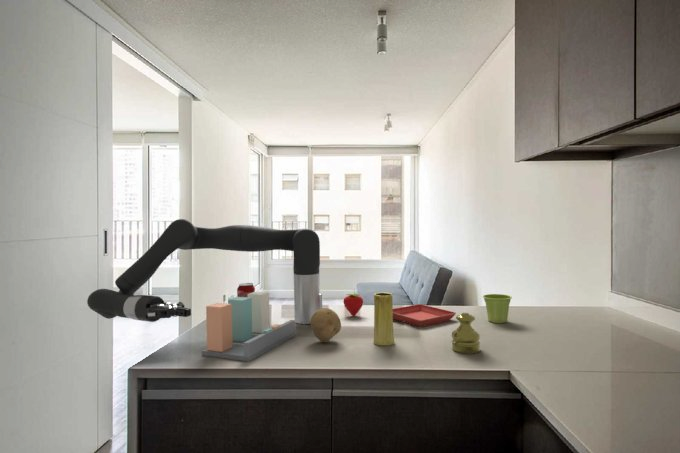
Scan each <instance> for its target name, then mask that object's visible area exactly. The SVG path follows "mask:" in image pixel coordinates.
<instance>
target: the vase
mask: <svg viewBox="0 0 680 453" xmlns="http://www.w3.org/2000/svg"><path fill="white" fill-rule="evenodd" d="M373 295H374V298H373V302H374V305H373V306H374V307H373V310H374V313H373V316H374V317H373V319H374V320H373V322H374V323H373V324H374V325H373V326H374V327H373V344H374V345H377V346H380V347H381V346H383V347H386V346H387V347H388V346H393V345H394V344H395V335H394V334H395V333H394V319H393V309H394V307H393V304H394V303H393V293H391V292H376V293H374V294H373Z"/></svg>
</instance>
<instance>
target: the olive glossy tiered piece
mask: <svg viewBox="0 0 680 453" xmlns="http://www.w3.org/2000/svg"><path fill="white" fill-rule="evenodd" d="M455 319H456V321H458V322H459V324H460V325H459V326H458V327H457V328H456V329H454V330H453V331H452V332H451V338H452V340H451V349H452V350H453V351H455V352H457V353H460V354H468V355H472V354H477V353H479V352H480V350H481V342H480V340H481V335H480V333H479V332H478V331H477V330H475V328H473V326H472V325H471V324H472V322H474V321H476V316H474V315H472V314H470V313H469V312H461V313H460V314H458V315H457V314H456V315H455Z"/></svg>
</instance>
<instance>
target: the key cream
mask: <svg viewBox="0 0 680 453" xmlns="http://www.w3.org/2000/svg"><path fill="white" fill-rule="evenodd" d="M248 297H249V298H252V332H255V333H263V332H264V330H266V329H268V328H270V326H271V325H270V292H268V291H255V292H252V293H249V294H248Z"/></svg>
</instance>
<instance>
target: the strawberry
mask: <svg viewBox="0 0 680 453" xmlns="http://www.w3.org/2000/svg"><path fill="white" fill-rule="evenodd" d="M353 292H354V293H348V294H346V296H345V297H344V298H343V300H342V301H343V305H344V307H345V310H347V311H348V312H349V313H350V315H351V316H352V317H355V316H356V315H357V314H358V313H359V312H360V310H361V309H362V307H363V304H364V299H363V298H362V296H360V295H359V294H357V293H356V292H355V290H353Z"/></svg>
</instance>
